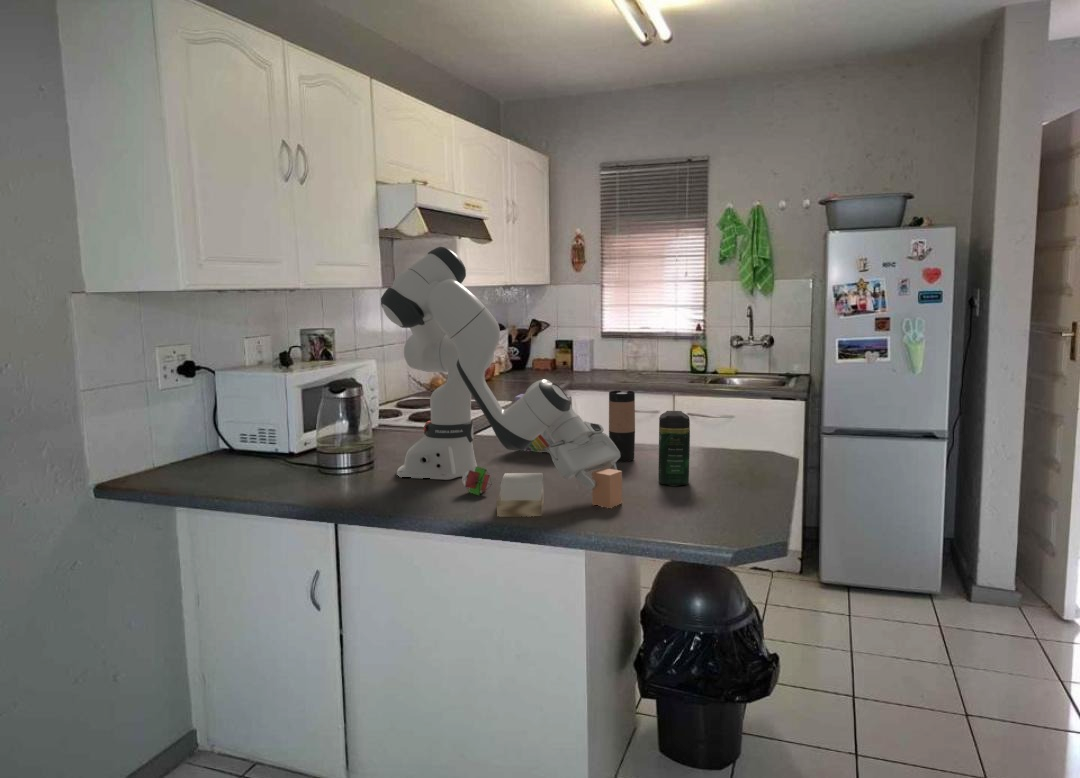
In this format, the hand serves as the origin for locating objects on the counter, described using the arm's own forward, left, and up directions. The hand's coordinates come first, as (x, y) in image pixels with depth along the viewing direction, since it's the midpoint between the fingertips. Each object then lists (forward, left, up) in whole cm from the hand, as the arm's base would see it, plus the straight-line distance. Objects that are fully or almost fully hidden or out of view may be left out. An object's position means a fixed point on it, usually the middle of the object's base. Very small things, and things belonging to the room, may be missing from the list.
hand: (606, 483), depth 178 cm
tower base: (-20, -4, -6) cm, 21 cm away
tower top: (-19, -4, -2) cm, 20 cm away
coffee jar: (+18, +20, -5) cm, 28 cm away
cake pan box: (-17, +57, -5) cm, 60 cm away
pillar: (0, 0, -5) cm, 5 cm away
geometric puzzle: (-32, +10, -5) cm, 34 cm away
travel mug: (+6, +46, -5) cm, 47 cm away
